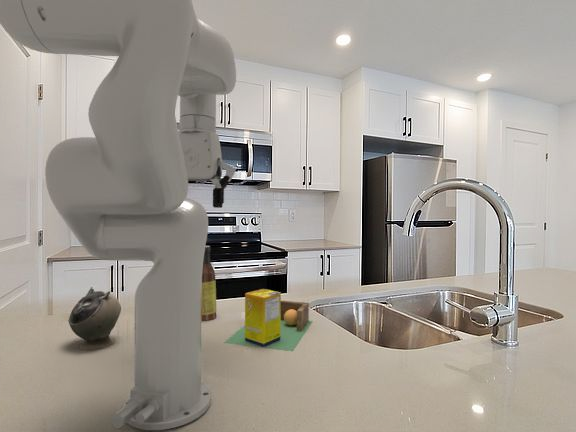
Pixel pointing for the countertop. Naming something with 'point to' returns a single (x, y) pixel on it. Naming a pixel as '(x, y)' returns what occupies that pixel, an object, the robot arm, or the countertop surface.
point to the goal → (301, 312)
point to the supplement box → (262, 317)
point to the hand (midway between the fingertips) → (197, 207)
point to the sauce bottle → (208, 288)
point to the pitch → (286, 342)
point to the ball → (290, 317)
